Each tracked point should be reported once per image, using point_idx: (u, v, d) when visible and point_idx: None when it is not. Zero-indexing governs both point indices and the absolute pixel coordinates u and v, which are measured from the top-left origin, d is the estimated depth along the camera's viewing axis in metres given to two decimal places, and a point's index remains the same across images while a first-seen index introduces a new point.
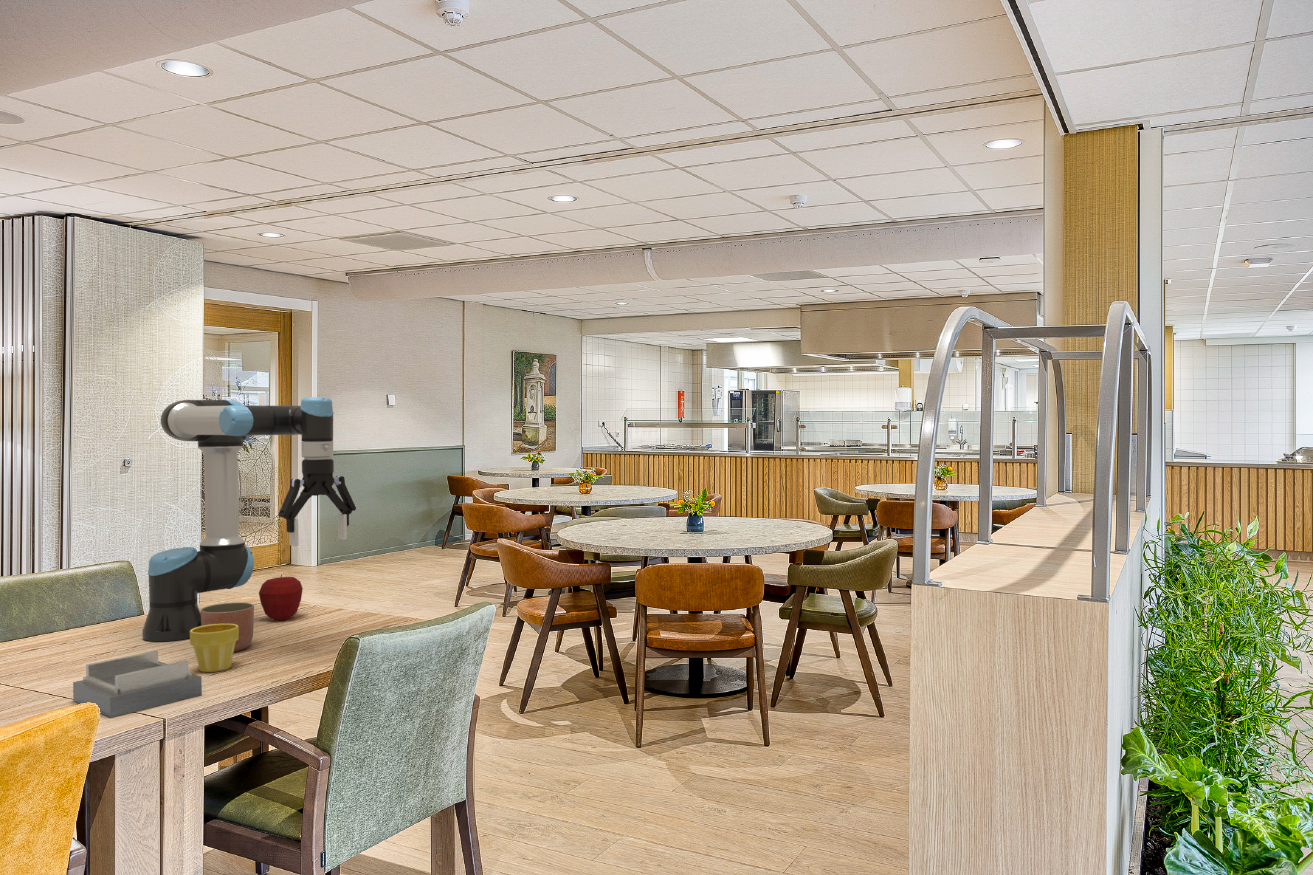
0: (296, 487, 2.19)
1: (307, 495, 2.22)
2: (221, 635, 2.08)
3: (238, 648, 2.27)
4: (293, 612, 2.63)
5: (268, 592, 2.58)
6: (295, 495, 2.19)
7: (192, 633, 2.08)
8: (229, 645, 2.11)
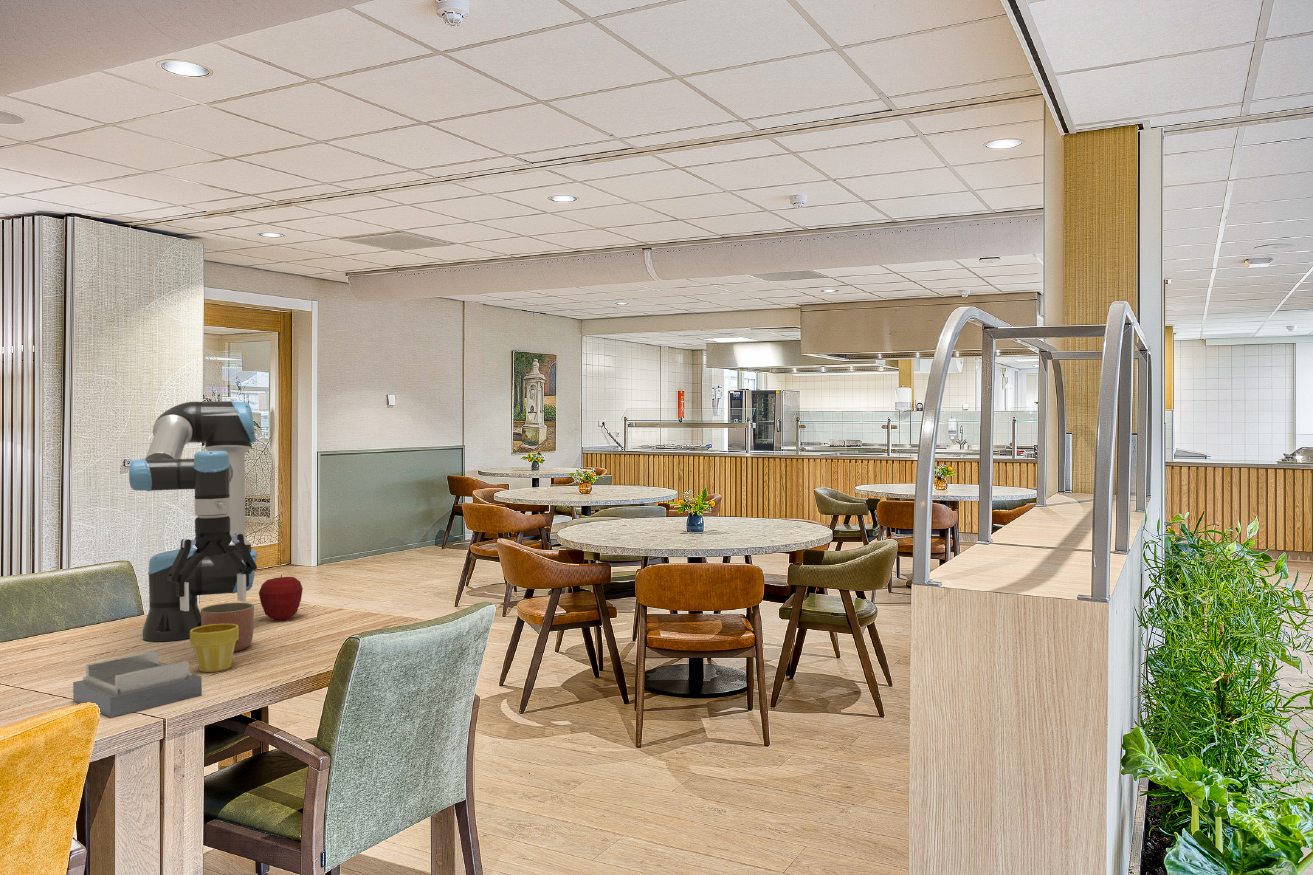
0: (186, 548, 2.05)
1: (199, 556, 2.07)
2: (221, 635, 2.08)
3: (238, 648, 2.27)
4: (293, 612, 2.63)
5: (268, 592, 2.58)
6: (185, 557, 2.05)
7: (192, 633, 2.08)
8: (229, 645, 2.11)
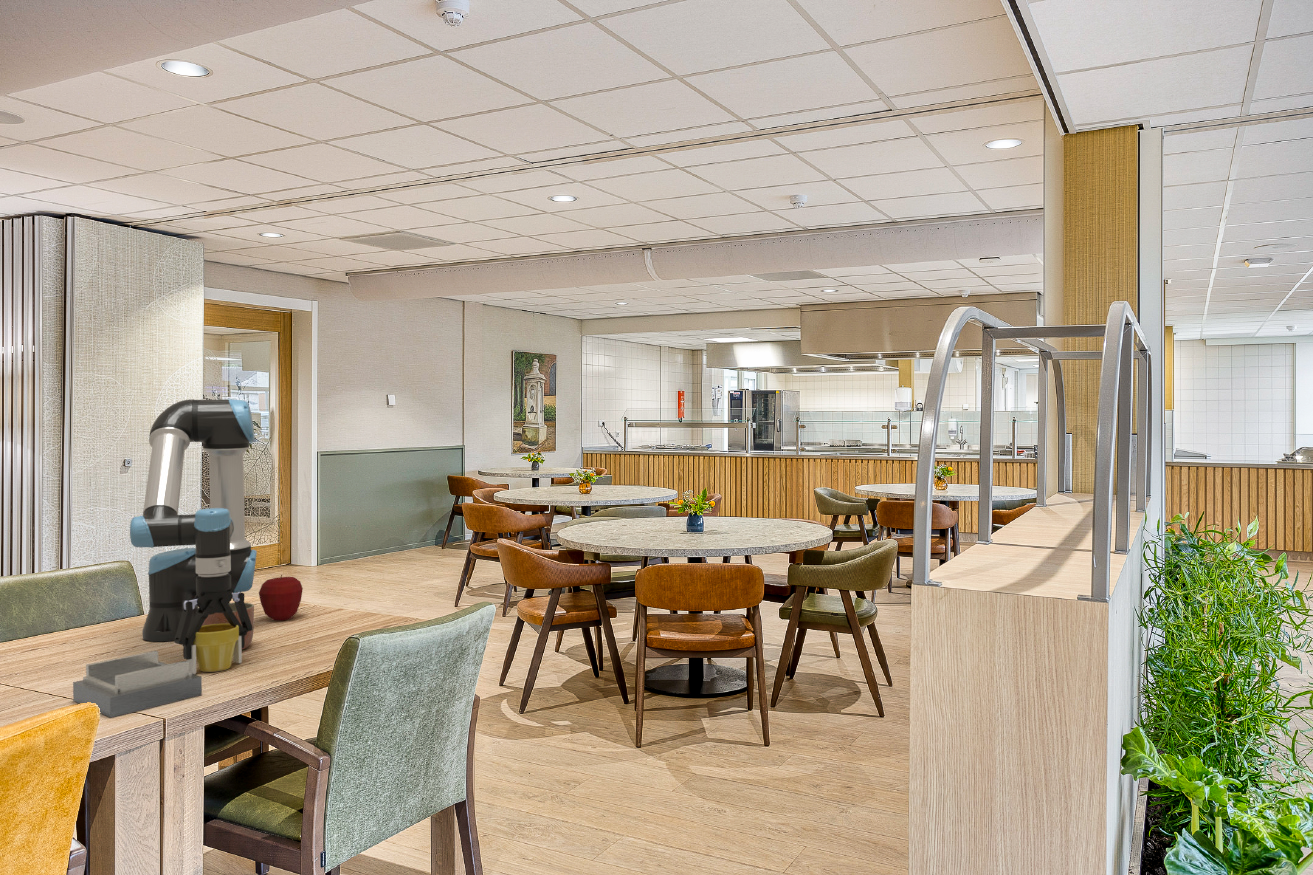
0: (188, 610, 2.06)
1: (202, 616, 2.08)
2: (221, 635, 2.08)
3: None
4: (293, 612, 2.63)
5: (268, 592, 2.58)
6: (189, 619, 2.06)
7: None
8: (229, 645, 2.11)
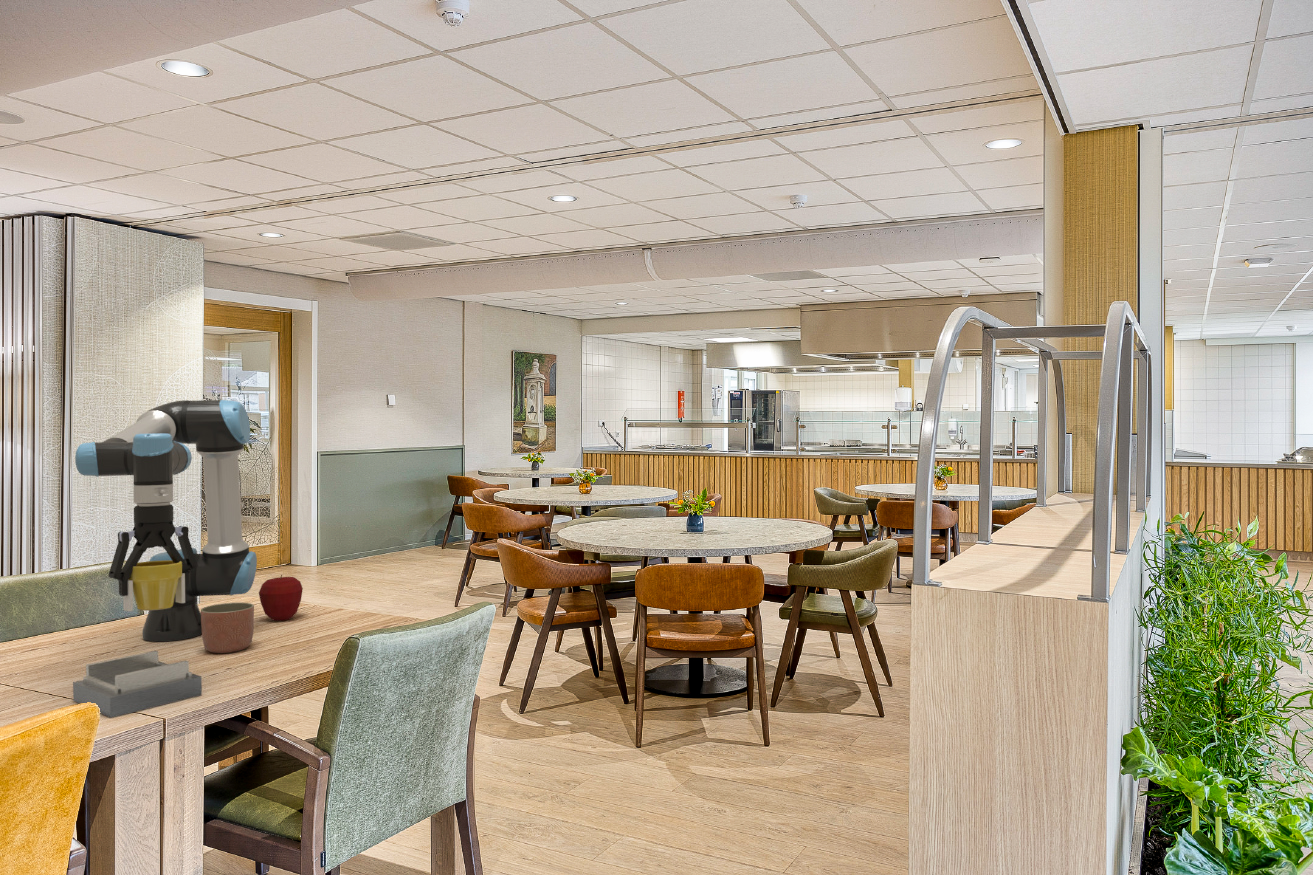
0: (124, 542, 1.88)
1: (140, 549, 1.90)
2: (161, 569, 1.90)
3: (238, 648, 2.27)
4: (293, 612, 2.63)
5: (268, 592, 2.58)
6: (125, 551, 1.88)
7: None
8: (171, 581, 1.93)
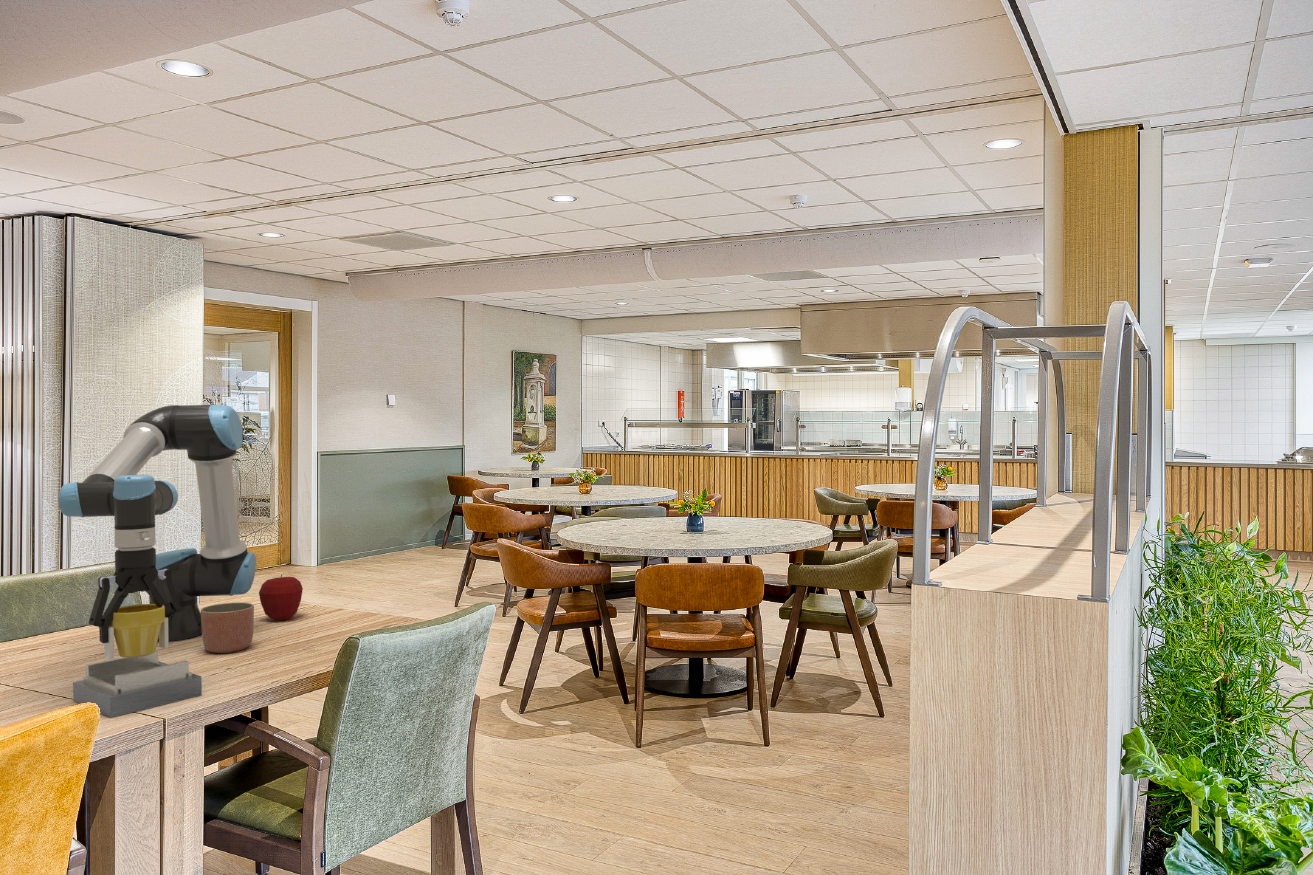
0: (104, 588, 1.83)
1: (121, 595, 1.86)
2: (142, 615, 1.86)
3: (238, 648, 2.27)
4: (293, 612, 2.63)
5: (268, 592, 2.58)
6: (105, 597, 1.84)
7: None
8: (153, 627, 1.88)
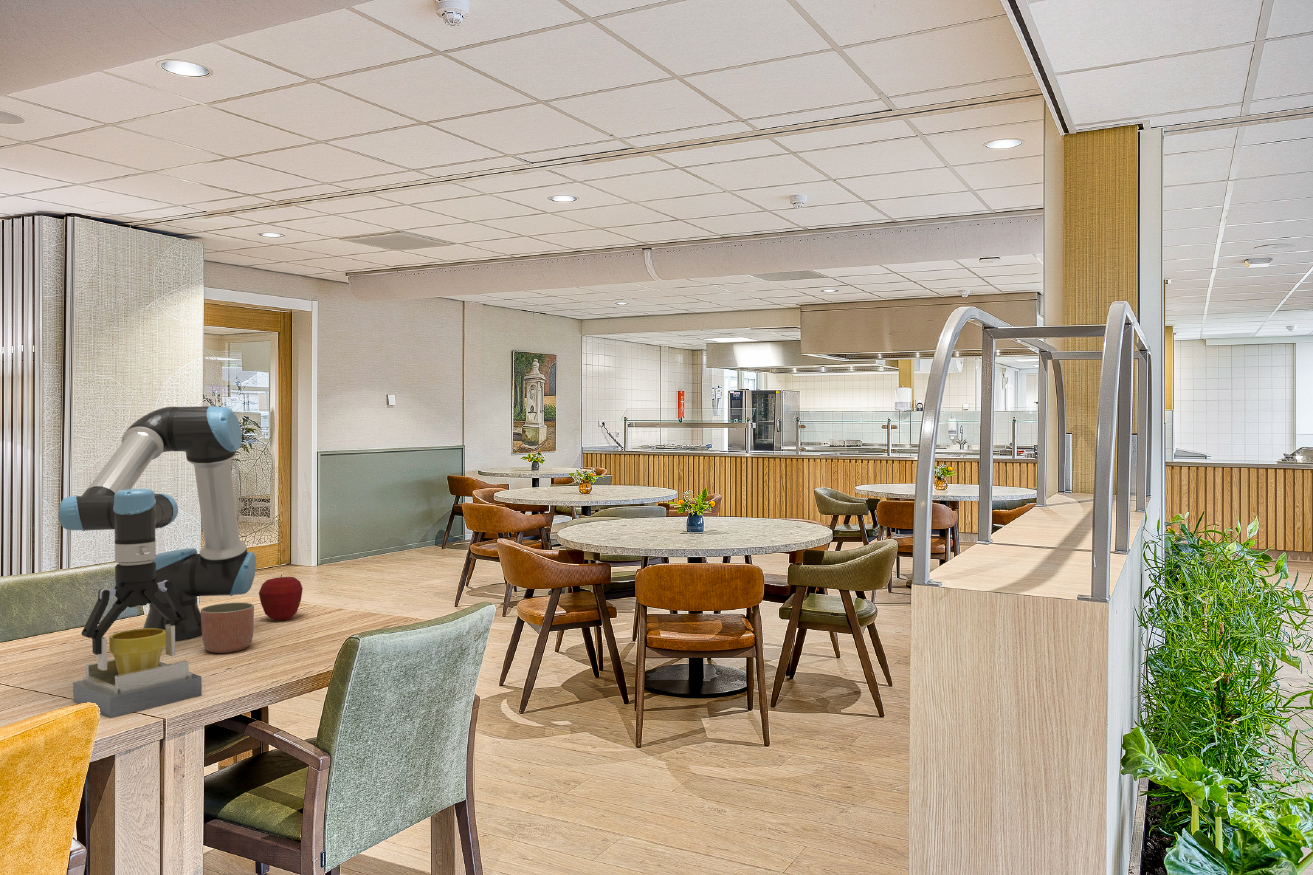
0: (103, 600, 1.83)
1: (119, 608, 1.86)
2: (142, 642, 1.86)
3: (238, 648, 2.27)
4: (293, 612, 2.63)
5: (268, 592, 2.58)
6: (102, 610, 1.83)
7: (111, 639, 1.86)
8: (153, 653, 1.88)
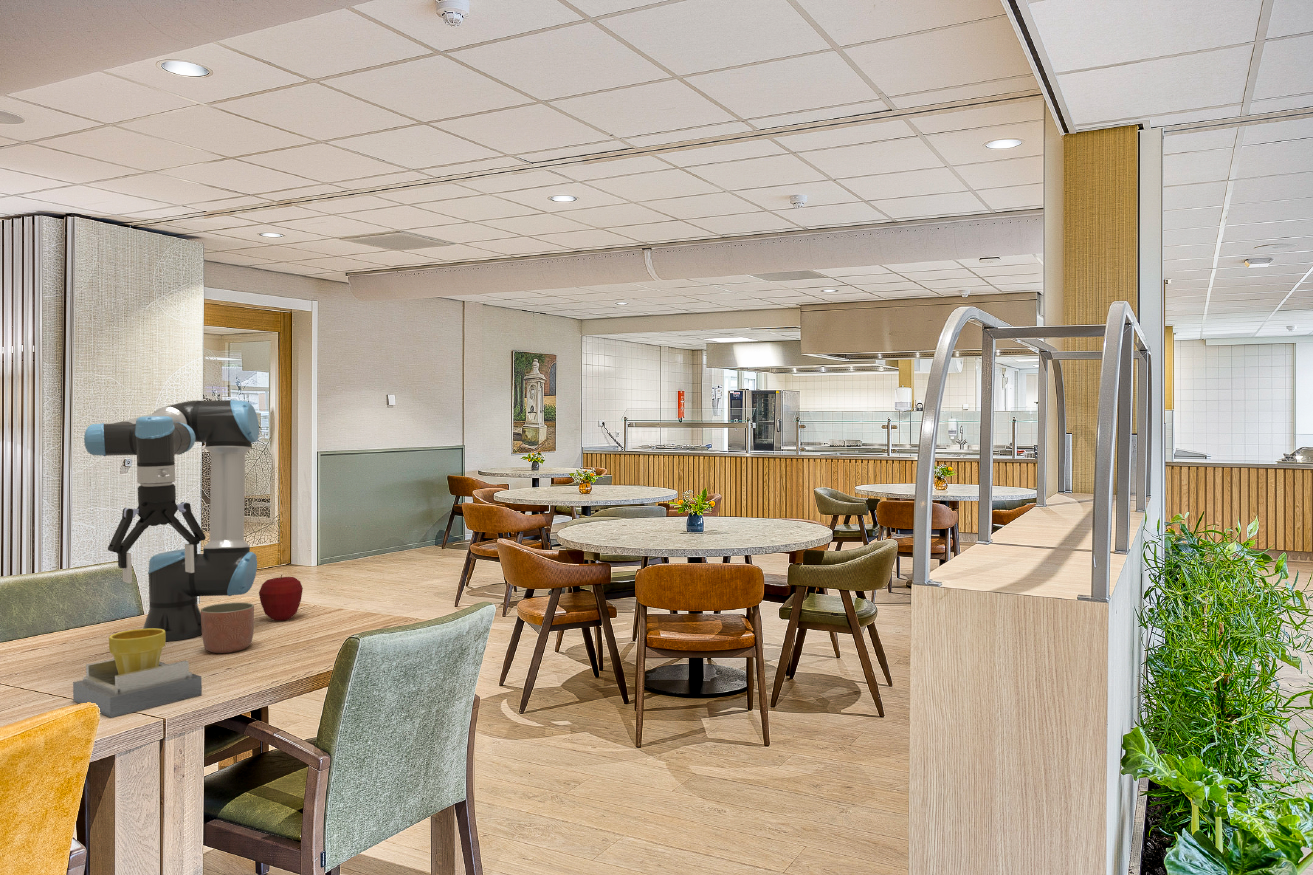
0: (127, 518, 1.96)
1: (142, 526, 1.99)
2: (142, 641, 1.86)
3: (238, 648, 2.27)
4: (293, 612, 2.63)
5: (268, 592, 2.58)
6: (127, 527, 1.96)
7: (110, 639, 1.86)
8: (153, 653, 1.88)
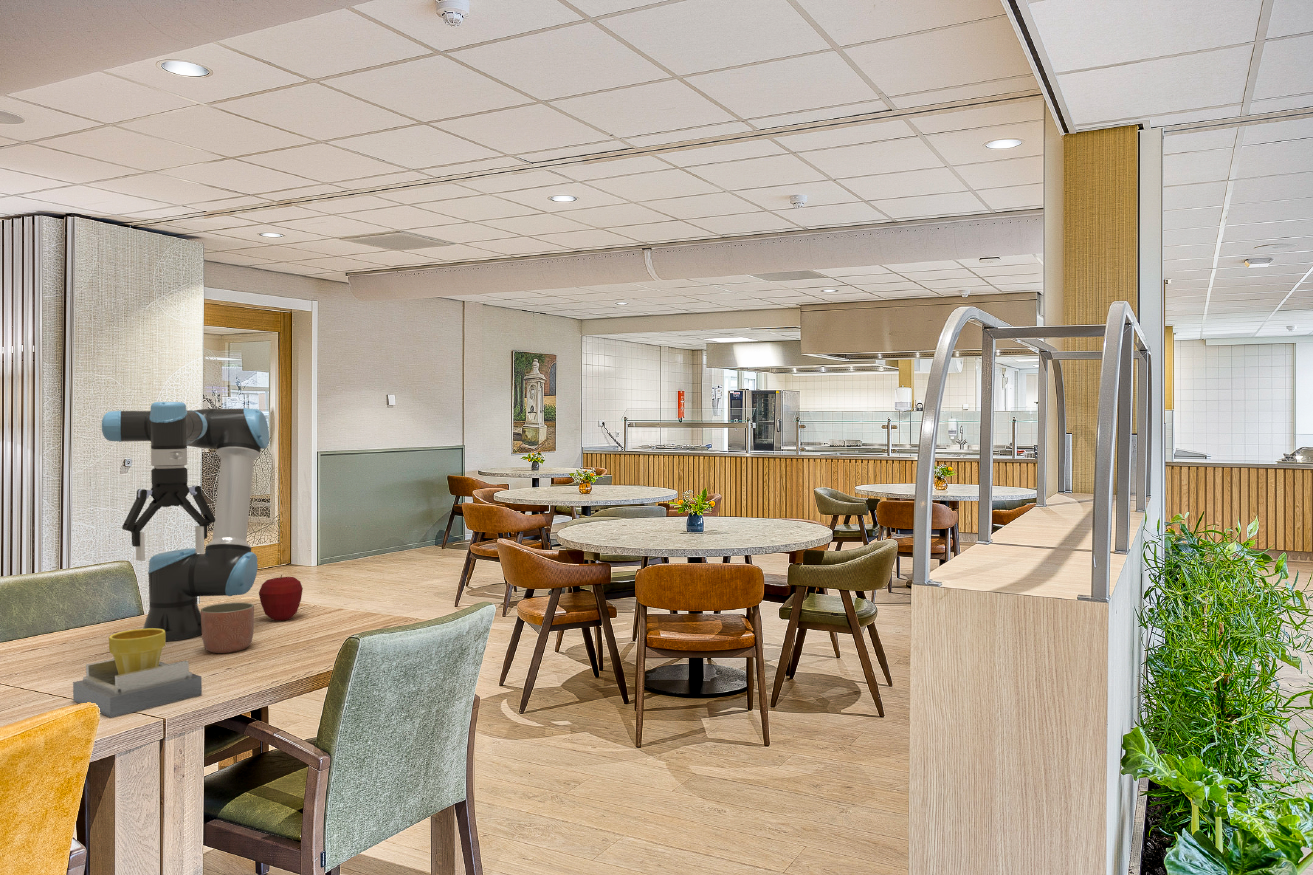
0: (141, 498, 2.05)
1: (155, 506, 2.07)
2: (142, 642, 1.86)
3: (238, 648, 2.27)
4: (293, 612, 2.63)
5: (268, 592, 2.58)
6: (141, 506, 2.05)
7: (110, 639, 1.86)
8: (153, 653, 1.88)
